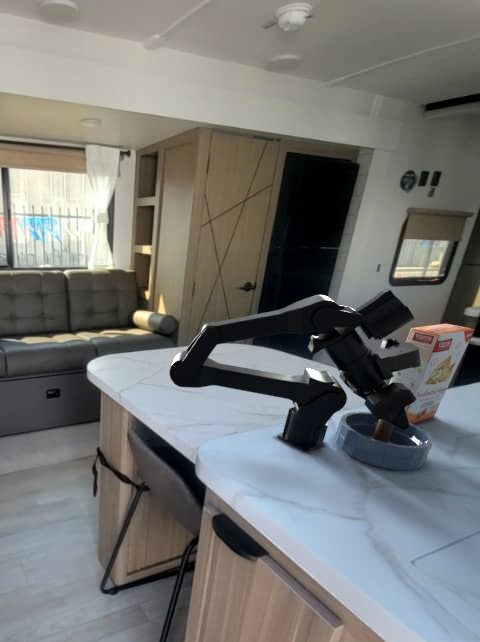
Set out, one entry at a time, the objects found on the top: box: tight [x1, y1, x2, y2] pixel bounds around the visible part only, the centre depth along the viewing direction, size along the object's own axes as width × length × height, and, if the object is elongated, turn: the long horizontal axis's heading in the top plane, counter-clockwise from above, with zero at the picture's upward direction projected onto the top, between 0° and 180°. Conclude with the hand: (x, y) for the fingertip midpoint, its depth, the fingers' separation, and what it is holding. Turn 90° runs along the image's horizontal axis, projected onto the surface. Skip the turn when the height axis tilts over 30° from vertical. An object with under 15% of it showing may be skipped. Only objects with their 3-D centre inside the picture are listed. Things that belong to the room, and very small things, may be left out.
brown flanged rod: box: [368, 419, 395, 444], centre depth 76 cm, size 5×5×11 cm
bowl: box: [334, 411, 434, 471], centre depth 77 cm, size 15×15×5 cm
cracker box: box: [389, 323, 475, 424], centre depth 88 cm, size 14×6×21 cm, turn 117°
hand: (397, 419), depth 75 cm, fingers open, 7 cm apart
